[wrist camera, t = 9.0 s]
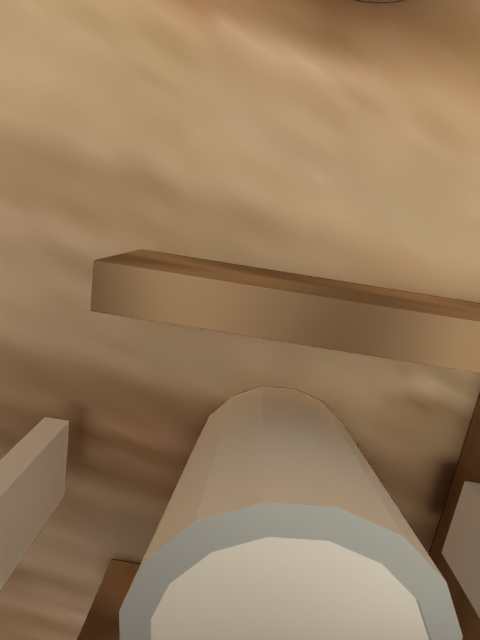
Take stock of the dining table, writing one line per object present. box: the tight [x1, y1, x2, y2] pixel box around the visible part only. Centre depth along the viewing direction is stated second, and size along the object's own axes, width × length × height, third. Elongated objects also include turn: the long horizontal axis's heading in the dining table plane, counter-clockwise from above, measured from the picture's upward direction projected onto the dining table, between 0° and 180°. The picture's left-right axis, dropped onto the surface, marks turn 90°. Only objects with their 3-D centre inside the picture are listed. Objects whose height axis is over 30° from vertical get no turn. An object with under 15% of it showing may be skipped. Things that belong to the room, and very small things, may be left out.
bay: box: [77, 249, 480, 640], centre depth 13 cm, size 13×13×4 cm
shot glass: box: [119, 387, 463, 640], centre depth 11 cm, size 7×7×7 cm
